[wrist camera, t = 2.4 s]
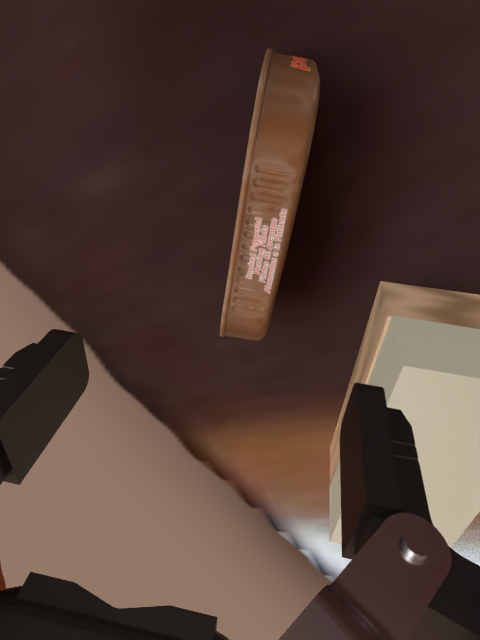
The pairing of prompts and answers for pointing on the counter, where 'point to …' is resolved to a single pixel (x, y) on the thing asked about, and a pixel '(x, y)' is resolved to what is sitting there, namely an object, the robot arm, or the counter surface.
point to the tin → (270, 191)
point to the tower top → (433, 416)
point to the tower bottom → (410, 305)
